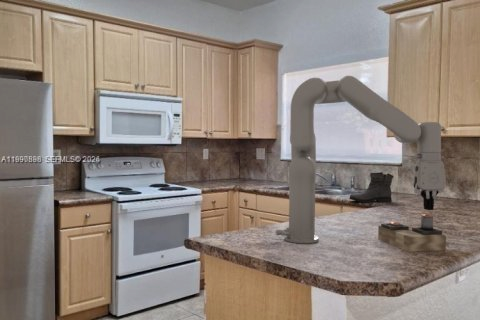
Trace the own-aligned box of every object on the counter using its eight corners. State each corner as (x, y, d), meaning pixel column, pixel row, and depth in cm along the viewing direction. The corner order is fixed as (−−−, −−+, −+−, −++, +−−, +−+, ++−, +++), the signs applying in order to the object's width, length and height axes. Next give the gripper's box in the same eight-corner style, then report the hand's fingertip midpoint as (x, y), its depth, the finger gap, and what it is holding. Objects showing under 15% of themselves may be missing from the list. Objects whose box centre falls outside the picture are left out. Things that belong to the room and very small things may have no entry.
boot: (345, 201, 276) (346, 171, 276) (386, 200, 283) (386, 171, 282) (353, 203, 267) (354, 172, 266) (395, 202, 273) (395, 172, 273)
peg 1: (392, 242, 156) (392, 224, 156) (386, 239, 160) (387, 222, 160) (402, 241, 157) (402, 223, 157) (396, 239, 161) (396, 221, 161)
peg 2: (425, 234, 149) (425, 215, 148) (418, 232, 153) (418, 214, 152) (435, 234, 149) (435, 215, 149) (428, 232, 153) (428, 213, 153)
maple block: (408, 251, 144) (409, 233, 143) (378, 238, 163) (378, 222, 163) (445, 250, 146) (446, 232, 146) (411, 237, 166) (411, 221, 166)
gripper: (416, 158, 145) (415, 212, 145) (455, 157, 148) (454, 210, 148) (403, 157, 152) (403, 208, 153) (440, 157, 155) (440, 207, 156)
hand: (428, 209), depth 151 cm, fingers closed
